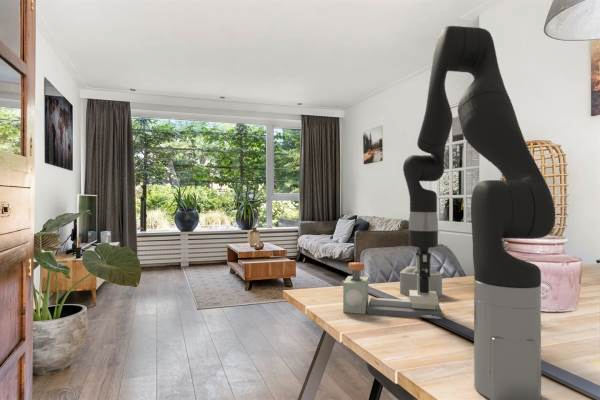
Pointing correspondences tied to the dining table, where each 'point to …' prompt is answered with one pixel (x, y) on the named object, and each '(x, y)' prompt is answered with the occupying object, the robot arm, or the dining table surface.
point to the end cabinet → (355, 295)
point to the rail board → (399, 308)
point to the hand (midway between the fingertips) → (423, 289)
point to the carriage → (423, 298)
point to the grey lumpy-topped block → (410, 280)
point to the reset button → (356, 270)
